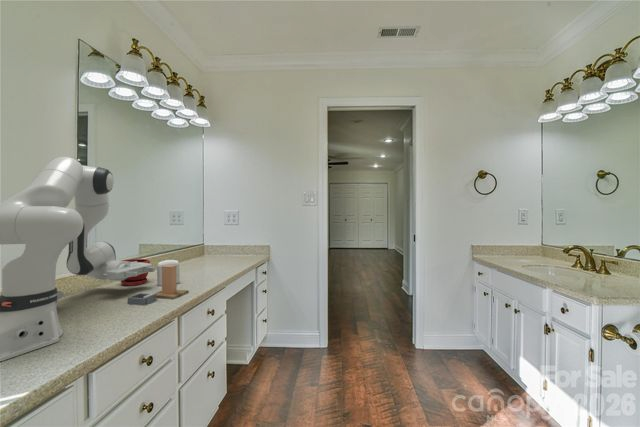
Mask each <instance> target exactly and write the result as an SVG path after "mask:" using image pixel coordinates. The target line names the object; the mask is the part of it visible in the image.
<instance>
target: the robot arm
mask: <svg viewBox="0 0 640 427" xmlns="http://www.w3.org/2000/svg"><path fill="white" fill-rule="evenodd" d="M113 186H114V176H113V173H112V172H111V171H110V170H109V169H107V168H105V167H100V166H98V167H97V166H92V165H91V166H90V165H85V164H84V165H83V164H82V163H80V161H78V160H77V159H75V158H72V157H69V156H58V157H56V158H54V159H53V160H51V161H49V162H48V163H47V164H46V165H44V167H43V168H41V170H39V172H38V173H37V174H36V176H35V177H33V179H32V180H31V182H29V184H28V185H27V186H26V187H25V188H24V189H22V190H20V191H19V192H17V193H15V194H14V195H13V196H10V197H8V198H6V199H5V200H3V201H0V245H1V246H3V245H24V246H25V248H24V251H23V253H22V254H21V255H20V256H17V257H15V258H14V259H12V260H10V261H8V262H7V263H6V264H5V265H4V266H3V268H2V269H1V295H0V362H3V361H6V360H10V359H12V358H15V357H18V356H21V355H24V354H26V353H29V352H32V351H35V350H39V349H41V348H43V347H47V346H49V345H52V344H56V343H58V342H59V341H60V337H62V335H63V334H64V331H63V329H62V326H61V323H60V320H59V314H58V308H57V302H58V299H57V291H58V288H57V287H56V270H57V263H58V259H59V257H60V255H61V254H62V251H63V250H64V249H65V248H66V247H67V246H68V255H67V259H66V268H67V270H68V271H69V272H70V273H71V274H73V275H76V276H87V277H89V278H91V279H94V280H101V281H104V280H105V281H106V280H110V281H117V282H118V281H120V282H121V281H122V280H125V279H126V278H128V277H132V276H138V275H140V274H143V273H147V272H148V273H153V272H155V271H156V270H155V267H153V264H152V263H151V262H150V263H141V262H137V261H128V262H127V261H123V260H117V255H116V249H115V247H114V246H113V245H112V244H110V243H109V242H106V241H103V240H101V241H97V242H95V243H93V244H91V245H89V246H87V241H88V240H87V239H88V235H89V234H90V232H91V230H92V229H94V227H95V226H97V225H98V224H99V223H100V222H101V221H103V220H104V219H105V218H106V217H107V215H108V213H109V198H108V193H110V192H111V191H112V189H113ZM73 199H74V203H75V208H68V206H69V205H70V203H71V202H72V201H73Z"/></svg>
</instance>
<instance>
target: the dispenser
mask: <svg viewBox="0 0 640 427" xmlns="http://www.w3.org/2000/svg"><path fill="white" fill-rule="evenodd" d="M157 292H158V291H156V292H153V293H142V292H141V293H136V294H134V295H131V296H127V305H137V306H146V305H149V304H152V303H154V302H157V300H158V298H156V294H157Z"/></svg>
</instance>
